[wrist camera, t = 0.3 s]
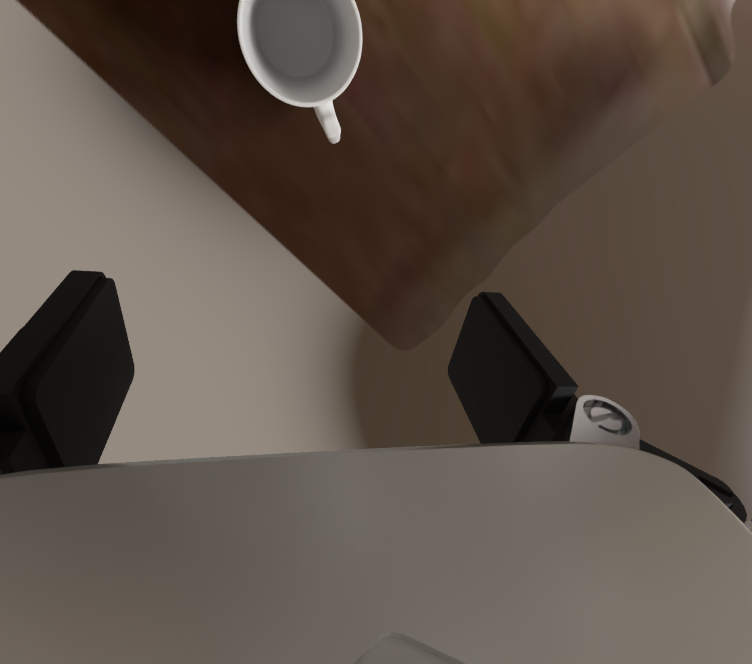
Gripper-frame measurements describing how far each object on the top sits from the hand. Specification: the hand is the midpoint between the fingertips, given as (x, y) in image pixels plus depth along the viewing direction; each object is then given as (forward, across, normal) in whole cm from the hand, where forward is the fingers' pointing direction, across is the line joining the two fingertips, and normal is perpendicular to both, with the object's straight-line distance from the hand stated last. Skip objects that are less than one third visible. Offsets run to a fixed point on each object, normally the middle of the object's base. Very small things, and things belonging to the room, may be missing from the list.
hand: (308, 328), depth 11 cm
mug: (+31, -1, -5) cm, 31 cm away
